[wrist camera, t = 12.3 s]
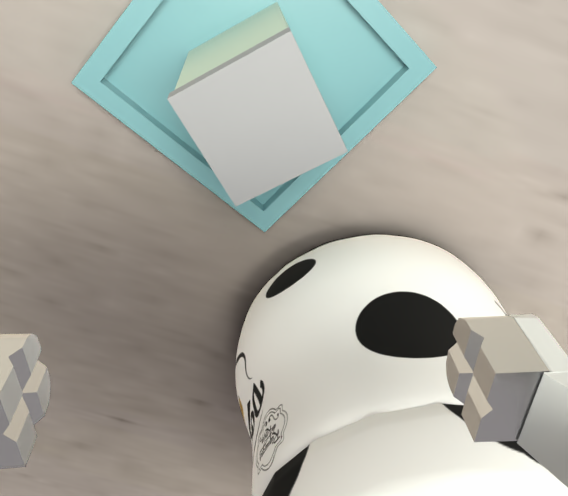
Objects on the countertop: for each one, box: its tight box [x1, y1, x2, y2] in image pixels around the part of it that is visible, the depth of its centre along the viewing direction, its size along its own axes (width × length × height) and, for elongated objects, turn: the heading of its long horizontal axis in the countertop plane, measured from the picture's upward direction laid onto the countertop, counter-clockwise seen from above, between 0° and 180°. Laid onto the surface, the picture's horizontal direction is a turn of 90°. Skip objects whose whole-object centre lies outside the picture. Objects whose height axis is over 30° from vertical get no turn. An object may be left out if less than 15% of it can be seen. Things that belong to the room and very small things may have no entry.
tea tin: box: [167, 2, 348, 206], centre depth 25 cm, size 5×5×8 cm
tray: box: [72, 0, 437, 232], centre depth 28 cm, size 13×13×1 cm
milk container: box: [235, 234, 568, 496], centre depth 31 cm, size 17×17×18 cm
